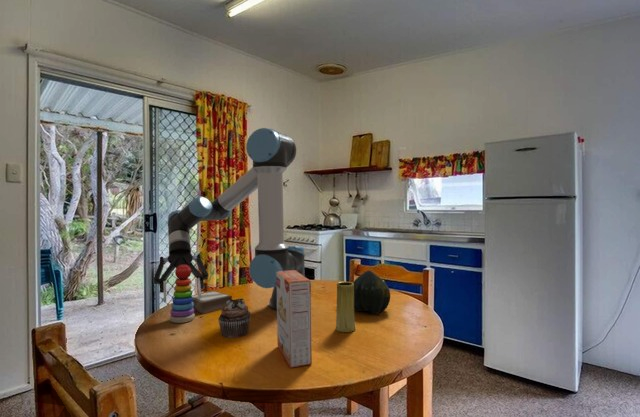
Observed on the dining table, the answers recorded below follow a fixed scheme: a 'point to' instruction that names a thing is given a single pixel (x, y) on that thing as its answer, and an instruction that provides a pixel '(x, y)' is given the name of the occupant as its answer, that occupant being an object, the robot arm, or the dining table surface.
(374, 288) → the squash
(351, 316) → the vase
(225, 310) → the cupcake
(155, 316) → the dining table surface
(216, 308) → the plinth
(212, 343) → the dining table surface
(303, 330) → the cracker box
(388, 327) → the dining table surface
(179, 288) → the stacking toy
